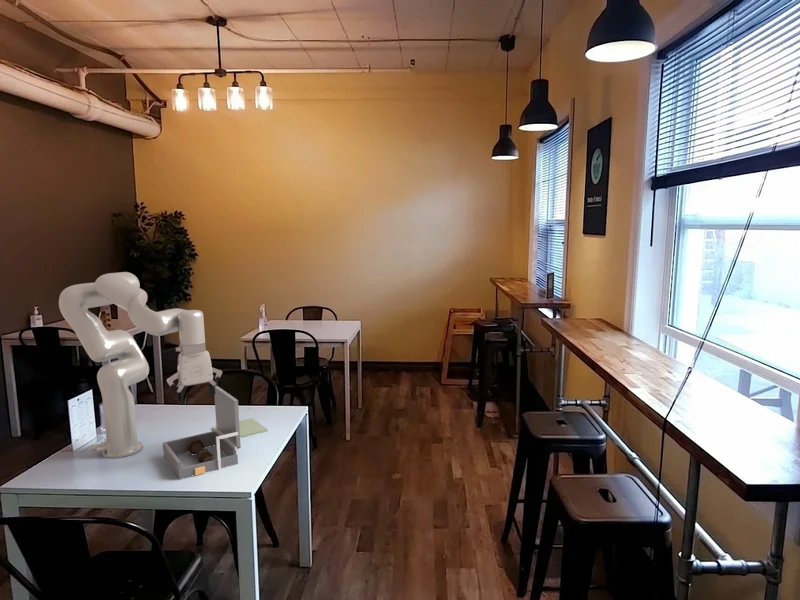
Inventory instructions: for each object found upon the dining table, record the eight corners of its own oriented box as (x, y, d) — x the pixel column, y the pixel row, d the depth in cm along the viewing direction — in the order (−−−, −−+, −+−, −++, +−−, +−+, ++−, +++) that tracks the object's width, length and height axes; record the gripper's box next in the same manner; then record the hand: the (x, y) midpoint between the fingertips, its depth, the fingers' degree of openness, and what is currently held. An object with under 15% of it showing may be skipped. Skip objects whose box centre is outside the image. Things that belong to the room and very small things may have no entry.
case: (180, 480, 162) (175, 413, 159) (163, 456, 179) (158, 396, 176) (242, 463, 173) (238, 400, 170) (220, 442, 190) (217, 385, 188)
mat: (225, 441, 192) (225, 439, 192) (211, 428, 204) (211, 427, 204) (267, 430, 201) (267, 429, 201) (252, 419, 214) (252, 418, 214)
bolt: (207, 473, 170) (193, 456, 182) (220, 462, 172) (205, 446, 184) (196, 461, 168) (183, 445, 180) (210, 450, 170) (196, 434, 182)
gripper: (167, 354, 163) (171, 408, 165) (223, 346, 174) (227, 397, 176) (161, 350, 169) (165, 402, 171) (216, 343, 180) (219, 392, 182)
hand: (196, 400), depth 174 cm, fingers open, 9 cm apart
